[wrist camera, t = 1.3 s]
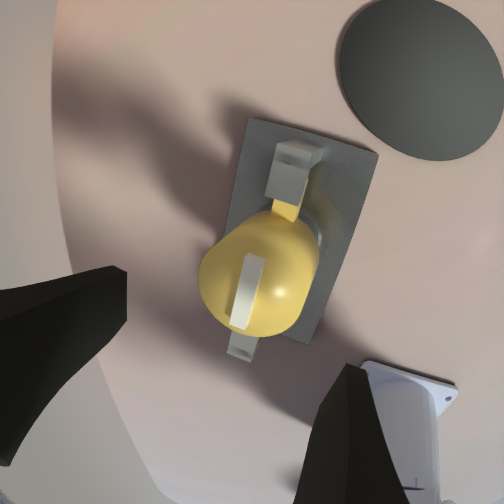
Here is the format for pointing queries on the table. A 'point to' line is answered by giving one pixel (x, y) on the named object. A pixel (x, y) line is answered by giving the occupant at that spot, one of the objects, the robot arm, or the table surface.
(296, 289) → the cap
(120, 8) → the table surface
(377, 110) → the mat
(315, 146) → the grey plate with posts
